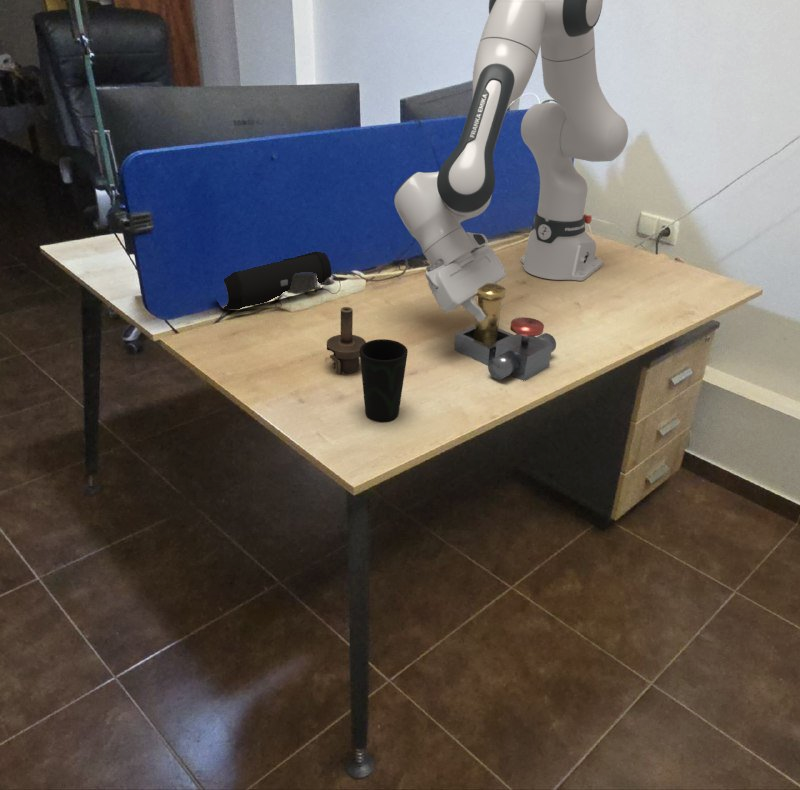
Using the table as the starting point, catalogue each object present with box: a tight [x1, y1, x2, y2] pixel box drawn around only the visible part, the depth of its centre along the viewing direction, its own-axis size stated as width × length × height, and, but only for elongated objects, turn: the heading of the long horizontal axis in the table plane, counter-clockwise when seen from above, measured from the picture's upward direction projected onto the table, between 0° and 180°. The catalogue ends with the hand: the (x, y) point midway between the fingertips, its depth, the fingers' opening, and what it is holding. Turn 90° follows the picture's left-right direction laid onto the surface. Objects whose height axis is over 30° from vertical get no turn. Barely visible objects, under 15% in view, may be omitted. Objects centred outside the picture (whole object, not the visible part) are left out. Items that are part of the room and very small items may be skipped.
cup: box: [359, 338, 409, 423], centre depth 115 cm, size 8×8×12 cm
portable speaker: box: [223, 251, 332, 310], centre depth 155 cm, size 26×10×10 cm, turn 129°
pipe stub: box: [474, 283, 507, 345], centre depth 135 cm, size 5×5×11 cm
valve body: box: [453, 316, 557, 382], centre depth 134 cm, size 16×17×9 cm
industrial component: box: [326, 306, 367, 375], centre depth 128 cm, size 9×7×12 cm
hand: (491, 314), depth 135 cm, fingers closed on pipe stub, 4 cm apart
